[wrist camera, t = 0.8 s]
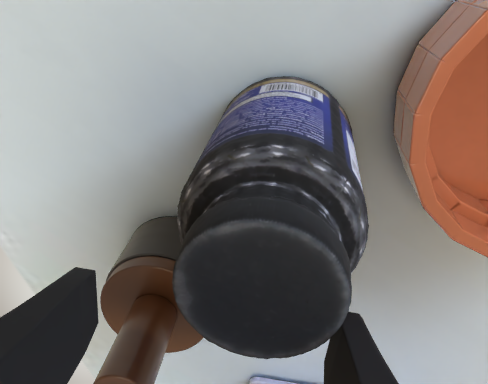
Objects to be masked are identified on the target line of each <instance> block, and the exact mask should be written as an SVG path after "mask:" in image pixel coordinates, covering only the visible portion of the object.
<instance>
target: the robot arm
mask: <svg viewBox="0 0 488 384" xmlns="http://www.w3.org/2000/svg"><path fill="white" fill-rule="evenodd" d="M97 324H98V308H97V290H96V273H95V270H89V269H83V268H77V267H75V268H74V269H72V270H71V271H69V272H68V273H66V274H65V275H63V276H62V277H61V278H59V279H58V280H56V281H55V282H53V283H52V284H50V285H49V286H48V287H46V288H45V289H43V290H42V291H40V292H39V293H37V294H36V295H35V296H33V297H32V298H30V299H29V300H27V301H26V302H24V303H23V304H21V305H20V306H18V307H17V308H15V309H13V310H12V311H10V312H9V313H7V314H5V315H4V316H2V317H1V318H0V384H67V383H68V381H69V380H70V378H71V376H72V375H73V373H74V371H75V370H76V367H77V366H78V364H79V363H80V361H81V359H82V358H83V356H84V354H85V352H86V350H87V347H88V345H89V343H90V341H91V339H92V336H93V334H94V331H95V329H96V327H97ZM249 384H298V383H292V382H286V381H280V380H274V379H268V378H262V377H253V378H251V379H250V381H249ZM324 384H399V383H398V382H397V380H396V379H395V377H394V375H393V374H392V372H391V370H390V369H389V367H388V365H387V364H386V362H385V360H384V358H383V357H382V355H381V353H380V351H379V350H378V348H377V346H376V344H375V342H374V340H373V338H372V336H371V335H370V333H369V331H368V329H367V327H366V325H365V323H364V321H363V319H362V317H361V316H360V314H358V313H351V312H348V313H347V316H346V318H345V320H344V322H343V324H342V325H341V327H340V328H339V329H338V331H337V332H336V333H335V334H334V335H333V336H332V337H331V338H330V342H329V345H328V349H327V353H326V357H325V360H324Z"/></svg>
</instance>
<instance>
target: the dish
mask: <svg viewBox="0 0 488 384" xmlns="http://www.w3.org/2000/svg"><path fill="white" fill-rule="evenodd" d="M418 44H419V45H417V47H416V49H415V51H414V54H413V56H412V58H411V60H410V62H409V65H408V67H407V69H406V71H405V74H404V76H403V78H402V80H401V82H400V85H399V87H398V91H397V96H396V109H395V122H394V138H395V141H396V144H397V147H398V150H399V153H400V156H401V159H402V162H403V165H404V169H405V172H406V174H407V176H408V178H409V180H410V182H411V184H412V186H413V188H414V190H415V192H416V194H417V196H418V198H419V200H420V203H421V205H422V206H423V208H424V209H425V210H426V212H427V213H428V214H429V215H430V216H431V217H432V218H433V219H434V220H435V222H436V223H437V224H438V225H439V226H440V227H441V228H442V229H443V231H444V232H445V233H446V234H447V235H448V236H449V237H450V238H451V239H452V240H454V241H456V242H458V243H460V244H462V245H464V246H466V247H468V248H470V249H472V250H474V251H476V252H478V253H480V254H482V255H484V256H486V257H488V0H457V1H455V2H454V3H453V5H452V6H451V7H450V8H449V9H448V10H447V11H446V12H445V14H444V15H443V16H442V17H441V18H440V19H439V20H438V21H437V22H436V24H435V25H434V26H433V27H432V28H431V29H430V30H429V31H428V33H427V34H426V35H425V36H424V37H423V38H422V39H421V40H420V41H419V43H418Z"/></svg>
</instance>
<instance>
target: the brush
mask: <svg viewBox="0 0 488 384" xmlns="http://www.w3.org/2000/svg"><path fill="white" fill-rule="evenodd" d="M181 246H182V244H181V242H180V236H179V229H178V219H177V217H160V218H156V219H153V220H150V221H148V222H146V223H144V224H143V225H141V226H140V227H139V228H138V229H137V230H136V231H135V232H134V234H133V235H132V237H131V239H130V240H129V242H128V243H127V245H126V247H125V248H124V250H123V252H122V253H121V255H120V256H119V258H118V260H117V261H116V263H115V264H114V266H113V268H112V269H111V271H110V273H109V274H108V277H107V279H106V283H105V285H104V287H103V289H102V292H101V309H102V312H103V315H104V317H105V319H106V321H107V323H108V324H109V326H110V327H111V328H112V329H113V330H114V331H115V332H116V333H117V334H118V335H117V337H116V339H115V341H114V343H113V345H112V347H111V349H110V351H109V353H108V355H107V357H106V359H105V361H104V364H103V366H102V368H101V370H100V372H99V374H98V376H97V378H96V380H95V382H94V384H154V383H155V380H156V377H157V374H158V371H159V368H160V366H161V363H162V360H163V357H164V354H165V353H171V352H178V351H183V350H186V349H188V348H190V347H192V346H194V345H196V344H197V343H198V342H199V341H201V340H202V339H203V337H202V335H201V334H199V333H198V332H197V331H196V330H195V329H194V328H193V327H192V326H191V325H190V323H188V322H187V321H186V319H185V318H184V316H183V315H182V314H181V312H180V309H179V308H178V305H177V303H176V301H175V297H174V292H173V285H172V279H173V269H174V264H175V262H176V259H177V256H178V254H179V251H180V249H181Z"/></svg>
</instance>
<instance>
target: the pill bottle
mask: <svg viewBox="0 0 488 384" xmlns="http://www.w3.org/2000/svg"><path fill="white" fill-rule="evenodd" d="M177 219H178V229H179V236H180V242H181V244H182V246H181V249H180V251H179V254H178V256H177V259H176V262H175V264H174V269H173V279H172V285H173V292H174V297H175V301H176V303H177V305H178V308H179V309H180V312H181V314H182V315H183V316H184V318H185V319H186V321H187V322H188V323H190V325H191V326H192V327H193V328H194V329H195V330H196V331H197V332H198V333H199V334H201V335H202V337H204V338H205V339H207V340H208V341H209V342H212V343H214V344H216V345H217V346H219V347H221V348H223V349H226V350H228V351H230V352H233V353H236V354H240V355H244V356H248V357H256V358H264V359H269V358H288V357H292V356H297V355H299V354H304V353H306V352H308V351H311V350H313V349H316V348H317V347H319V346H320V345H322V344H324V343H325V342H326V341H327V340H329V339H330V338H331V337H332V336H333V335H334V334H335V333H336V332H337V331H338V329H339V328H340V327H341V325H342V324H343V322H344V320H345V318H346V316H347V313H348V311H349V306H350V303H351V291H352V286H351V272H352V271H353V270H354V269H355V268H356V266H357V264H358V262H359V260H360V258H361V256H362V253H363V252H364V249H365V247H366V242H367V234H368V227H369V225H368V217H367V207H366V203H365V197H364V194H363V188H362V184H361V178H360V173H359V168H358V162H357V157H356V152H355V147H354V141H353V137H352V129H351V126H350V123H349V120H348V117H347V115H346V113H345V111H344V110H343V108H342V107H341V106H340V105H339V103H338V101H337V100H336V99H335V98H334V97H333V96H332V95H331V94H330V93H329V92H328V91H327V90H325V89H324V88H323V87H321V86H319V85H317V84H314V83H313V82H311V81H307V80H304V79H301V78H297V77H274V78H266V79H264V80H261V81H259V82H256V83H254V84H252V85H250V86H248V87H247V88H246V89H245V90H243V91H242V92H241V93H239V94H238V95H237V96H236V97H235V98H234V99H233V100H232V101H231V103H230V104H229V105H228V107H227V108H226V110H225V112H224V114H223V116H222V118H221V120H220V122H219V124H218V126H217V127H216V129H215V131H214V132H213V134H212V136H211V138H210V140H209V142H208V144H207V146H206V148H205V149H204V151H203V153H202V155H201V157H200V158H199V160H198V162H197V164H196V166H195V168H194V169H193V171H192V173H191V175H190V177H189V179H188V181H187V183H186V184H185V186H184V188H183V190H182V192H181V196H180V201H179V204H178V217H177Z"/></svg>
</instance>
